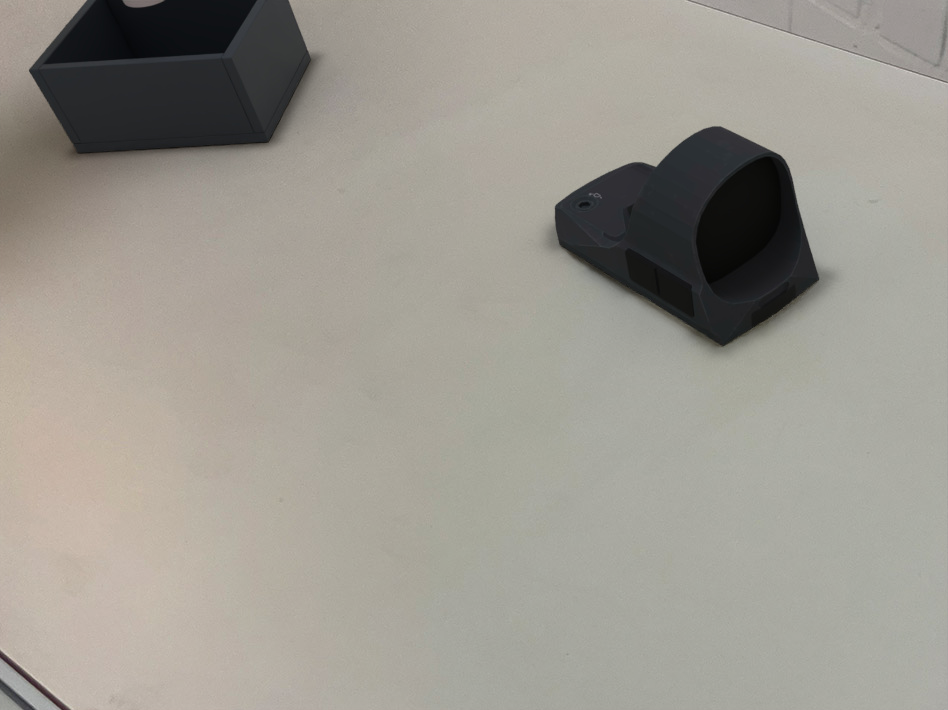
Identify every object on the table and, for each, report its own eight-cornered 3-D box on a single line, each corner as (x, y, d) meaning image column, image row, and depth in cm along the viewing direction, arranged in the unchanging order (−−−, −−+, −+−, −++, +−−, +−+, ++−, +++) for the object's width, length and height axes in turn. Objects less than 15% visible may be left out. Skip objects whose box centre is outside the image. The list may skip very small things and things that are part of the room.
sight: (639, 180, 78) (618, 43, 70) (822, 280, 70) (821, 137, 62) (540, 237, 75) (506, 100, 67) (721, 351, 66) (706, 208, 58)
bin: (77, 153, 86) (27, 70, 80) (137, 69, 94) (95, -12, 89) (268, 142, 85) (231, 57, 80) (311, 58, 93) (280, -24, 88)
